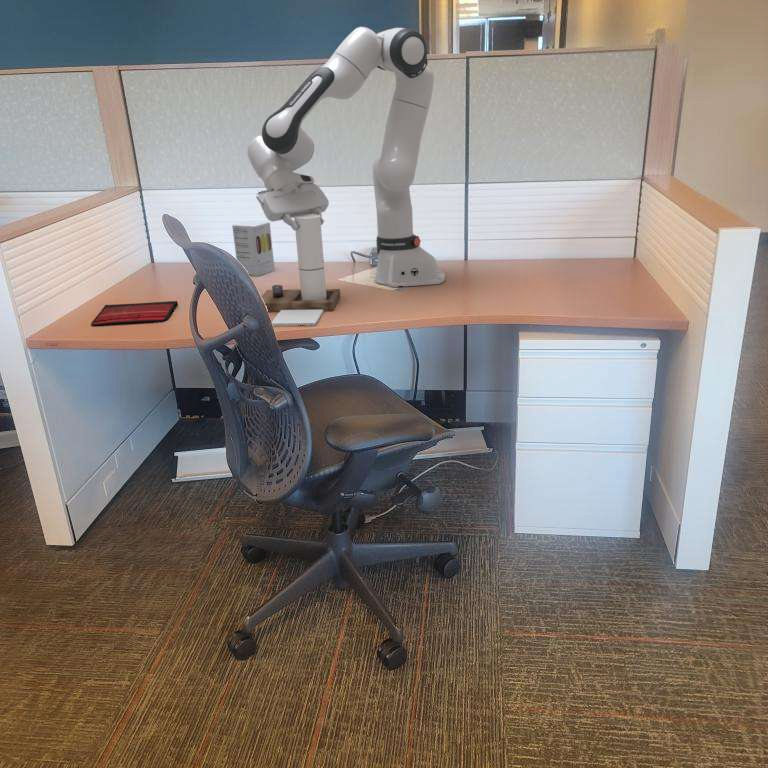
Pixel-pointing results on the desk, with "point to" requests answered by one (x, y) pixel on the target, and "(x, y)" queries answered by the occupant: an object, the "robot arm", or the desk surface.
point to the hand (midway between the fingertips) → (309, 226)
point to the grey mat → (297, 317)
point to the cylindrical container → (310, 257)
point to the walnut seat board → (297, 300)
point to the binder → (134, 313)
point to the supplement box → (254, 247)
